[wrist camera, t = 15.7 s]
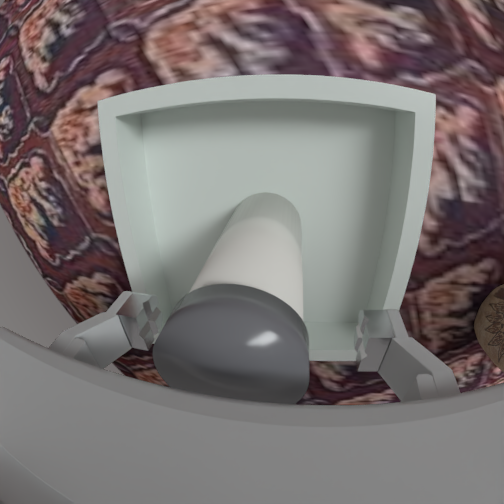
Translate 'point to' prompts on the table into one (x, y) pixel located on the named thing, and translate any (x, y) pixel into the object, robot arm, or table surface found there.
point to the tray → (274, 185)
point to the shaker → (243, 312)
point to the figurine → (492, 326)
